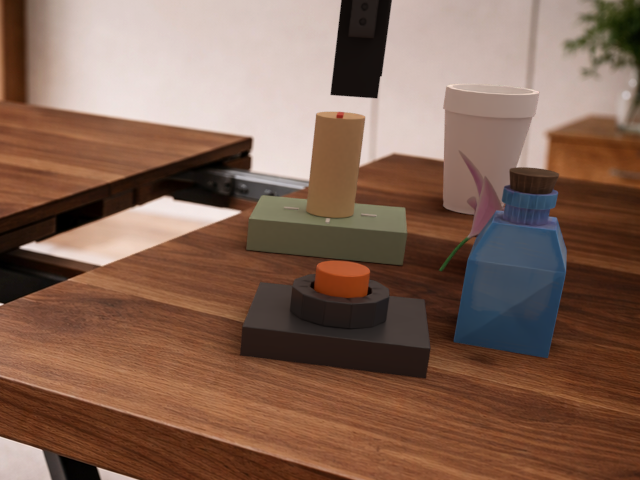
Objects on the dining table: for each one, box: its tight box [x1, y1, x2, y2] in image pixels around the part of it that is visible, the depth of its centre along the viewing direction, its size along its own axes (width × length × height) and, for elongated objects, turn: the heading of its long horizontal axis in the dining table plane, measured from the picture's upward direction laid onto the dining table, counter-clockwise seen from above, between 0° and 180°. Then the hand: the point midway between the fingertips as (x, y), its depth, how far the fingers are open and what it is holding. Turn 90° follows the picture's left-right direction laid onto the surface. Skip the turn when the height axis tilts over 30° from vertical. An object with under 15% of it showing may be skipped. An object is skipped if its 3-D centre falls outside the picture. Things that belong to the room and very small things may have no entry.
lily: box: [438, 150, 505, 273], centre depth 82 cm, size 12×12×10 cm
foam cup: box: [442, 83, 540, 216], centre depth 104 cm, size 10×9×13 cm
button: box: [314, 260, 371, 298], centre depth 65 cm, size 4×4×2 cm
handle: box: [306, 111, 366, 218], centre depth 88 cm, size 4×4×9 cm
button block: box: [239, 273, 432, 379], centre depth 66 cm, size 12×10×4 cm
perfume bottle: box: [453, 166, 568, 359], centre depth 67 cm, size 6×6×12 cm
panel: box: [245, 194, 408, 266], centre depth 90 cm, size 14×10×3 cm
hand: (358, 85), depth 62 cm, fingers open, 13 cm apart
